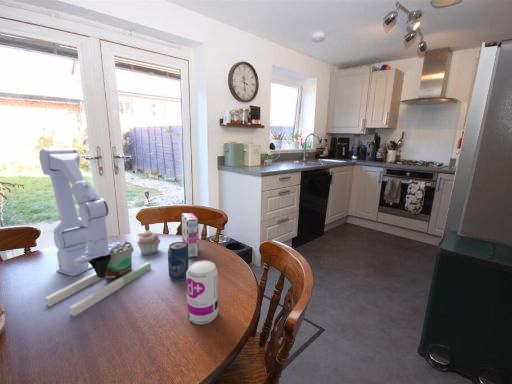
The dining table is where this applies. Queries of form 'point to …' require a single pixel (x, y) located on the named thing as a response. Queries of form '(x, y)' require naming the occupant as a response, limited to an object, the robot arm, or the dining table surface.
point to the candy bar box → (190, 233)
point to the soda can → (178, 260)
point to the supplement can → (202, 292)
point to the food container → (119, 262)
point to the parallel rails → (96, 295)
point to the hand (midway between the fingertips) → (101, 276)
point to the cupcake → (148, 243)
